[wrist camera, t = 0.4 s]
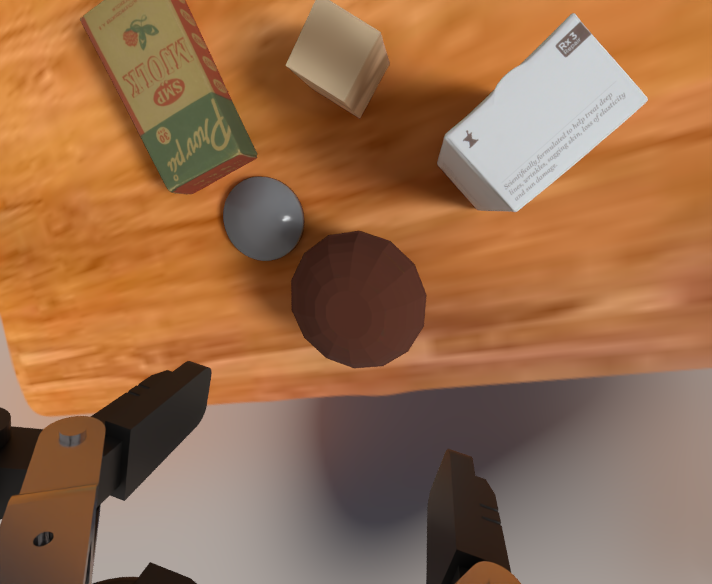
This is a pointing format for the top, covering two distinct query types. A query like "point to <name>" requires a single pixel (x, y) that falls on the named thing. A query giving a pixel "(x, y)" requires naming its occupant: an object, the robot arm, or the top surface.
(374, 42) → the oak block
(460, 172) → the skincare box
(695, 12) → the top surface
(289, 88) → the top surface
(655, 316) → the top surface
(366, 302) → the muffin
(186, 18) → the carton
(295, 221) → the grey disc
